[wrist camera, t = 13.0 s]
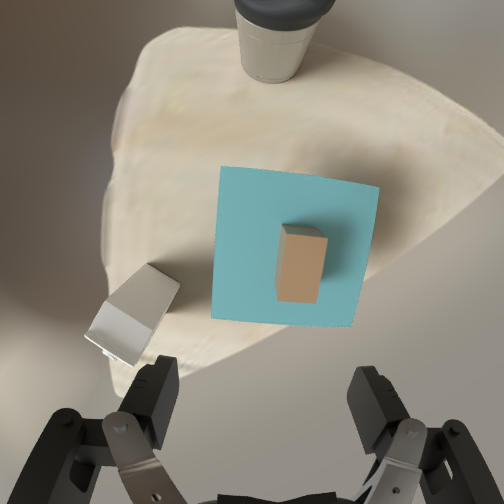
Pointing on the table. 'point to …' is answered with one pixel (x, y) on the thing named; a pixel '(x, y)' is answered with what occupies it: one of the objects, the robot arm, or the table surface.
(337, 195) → the teal square mat
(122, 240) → the table surface
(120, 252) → the table surface
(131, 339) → the milk carton
